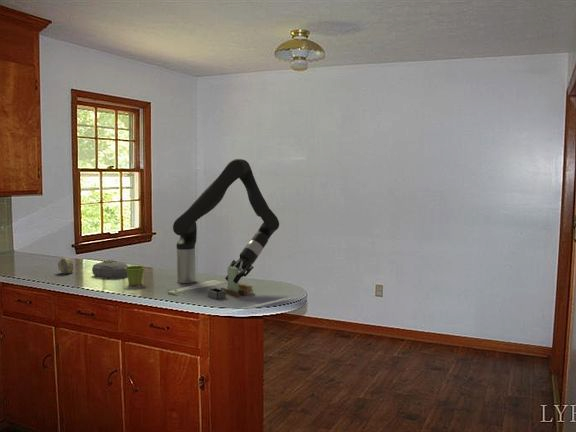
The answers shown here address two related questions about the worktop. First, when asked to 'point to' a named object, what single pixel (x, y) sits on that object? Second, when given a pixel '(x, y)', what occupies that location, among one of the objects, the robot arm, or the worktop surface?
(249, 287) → the pine offcut top
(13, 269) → the worktop surface
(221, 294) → the grey holder
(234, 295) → the walnut rack
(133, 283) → the plant pot
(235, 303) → the worktop surface
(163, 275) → the worktop surface
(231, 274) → the green board
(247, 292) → the pine offcut low
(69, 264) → the garlic bulb
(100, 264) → the small grey backpack
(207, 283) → the baseboard molding
